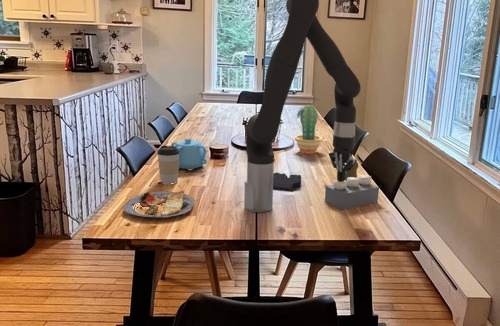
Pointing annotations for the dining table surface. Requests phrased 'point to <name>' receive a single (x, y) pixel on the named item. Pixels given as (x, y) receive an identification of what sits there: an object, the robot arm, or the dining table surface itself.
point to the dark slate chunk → (286, 182)
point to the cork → (352, 172)
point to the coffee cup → (168, 164)
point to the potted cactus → (308, 130)
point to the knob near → (340, 185)
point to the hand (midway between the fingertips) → (340, 181)
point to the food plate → (173, 203)
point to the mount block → (351, 196)
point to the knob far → (364, 180)
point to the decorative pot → (190, 154)
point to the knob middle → (352, 182)
